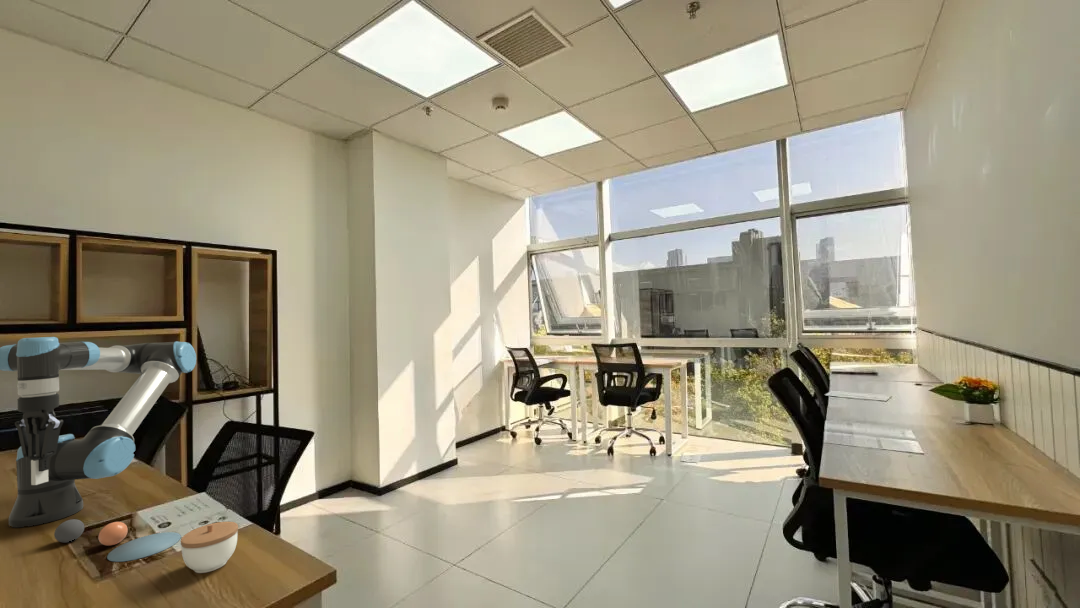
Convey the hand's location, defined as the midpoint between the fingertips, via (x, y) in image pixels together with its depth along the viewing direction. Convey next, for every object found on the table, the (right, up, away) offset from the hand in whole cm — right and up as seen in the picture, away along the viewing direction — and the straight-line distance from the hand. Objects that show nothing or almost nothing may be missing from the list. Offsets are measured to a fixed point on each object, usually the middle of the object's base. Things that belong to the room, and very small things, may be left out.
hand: (39, 483), depth 120 cm
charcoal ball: (+10, -12, -2) cm, 15 cm away
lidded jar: (+58, -13, -16) cm, 61 cm away
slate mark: (+34, -14, -6) cm, 37 cm away
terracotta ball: (+24, -11, -4) cm, 27 cm away
